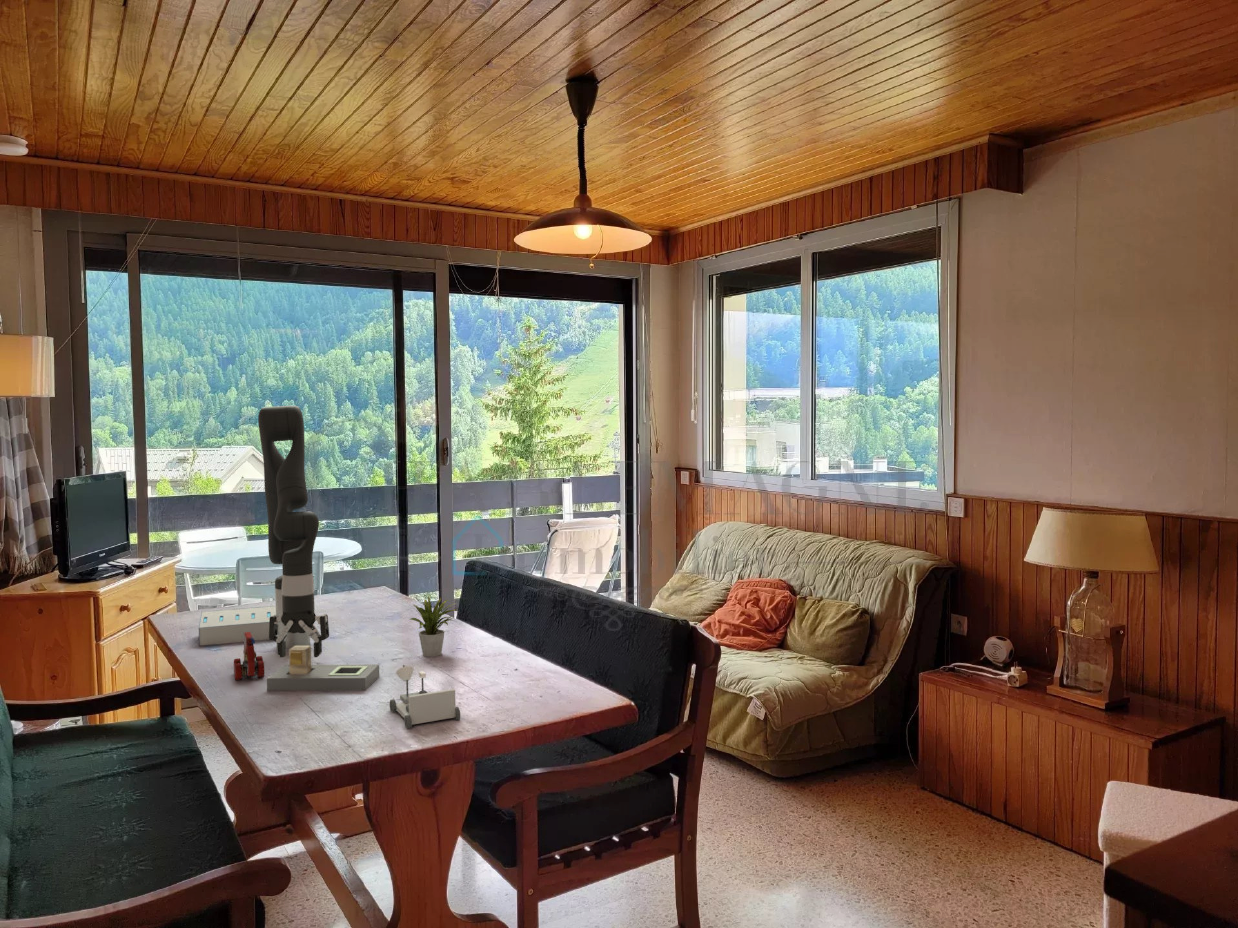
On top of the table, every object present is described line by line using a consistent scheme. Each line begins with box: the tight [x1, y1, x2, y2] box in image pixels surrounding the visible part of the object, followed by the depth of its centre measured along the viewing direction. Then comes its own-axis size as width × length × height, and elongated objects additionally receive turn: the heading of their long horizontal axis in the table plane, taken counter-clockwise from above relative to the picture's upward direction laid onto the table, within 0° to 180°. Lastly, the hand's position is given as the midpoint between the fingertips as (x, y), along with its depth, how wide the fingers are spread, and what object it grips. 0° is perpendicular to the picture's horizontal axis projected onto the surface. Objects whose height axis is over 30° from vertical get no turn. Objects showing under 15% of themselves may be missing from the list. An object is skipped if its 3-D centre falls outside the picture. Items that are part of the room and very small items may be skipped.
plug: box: [288, 645, 312, 674], centre depth 223 cm, size 5×4×9 cm
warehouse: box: [198, 605, 276, 646], centre depth 275 cm, size 30×14×8 cm, turn 112°
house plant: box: [408, 596, 459, 658], centre depth 249 cm, size 14×14×16 cm
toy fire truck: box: [233, 632, 265, 681], centre depth 231 cm, size 7×12×10 cm, turn 26°
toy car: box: [389, 664, 461, 730], centre depth 200 cm, size 18×10×12 cm
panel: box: [266, 664, 380, 691], centre depth 224 cm, size 12×24×3 cm, turn 89°
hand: (299, 656), depth 223 cm, fingers open, 8 cm apart
